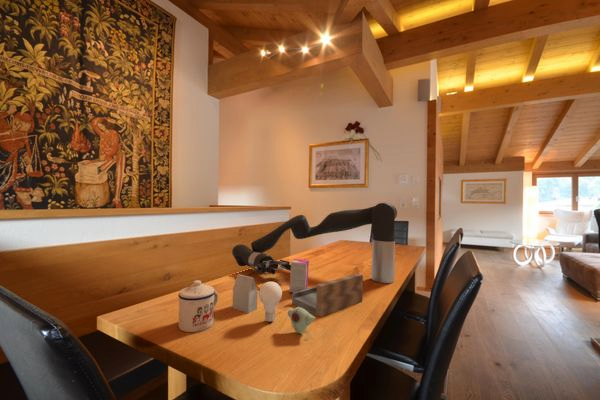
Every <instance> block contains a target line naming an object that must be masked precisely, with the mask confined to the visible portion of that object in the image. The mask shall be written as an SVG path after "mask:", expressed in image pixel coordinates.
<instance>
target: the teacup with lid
mask: <svg viewBox="0 0 600 400" xmlns="http://www.w3.org/2000/svg"><path fill="white" fill-rule="evenodd" d="M177 297H178V298H179V299H178V301H179V302H178V305H179V306H178V328H179V330H181V331H182V332H186V333H196V332H197V333H198V332H202V331H204V330H208V329H209V328H211V326H213V324H214V318H215V317H214V315H215V314H214V311H215V309H214V308H216V306H217V304H218V302H219V294H218V291H216V290H215V288H214V287H213V286H211V285H206V284H204V283H202V281H201V280H199V279H197V280H194V281H193V283H192V284H191V285H189V286H187V287H184V288H182V289H180V290H179V292H178V295H177Z"/></svg>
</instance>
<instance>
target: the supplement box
mask: <svg viewBox="0 0 600 400" xmlns="http://www.w3.org/2000/svg"><path fill="white" fill-rule="evenodd" d="M309 263H310V260H309V259H302V258H300V259H299V258H293V259H292V261H291V262H290V265H291V271H290V276H289V277H290V278H289V279H290V280H289V294H290V295H291V294H292V293H294V292H297V291H301V290H304V289H308V287H309V286H308V283H309Z"/></svg>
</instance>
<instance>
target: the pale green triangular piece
mask: <svg viewBox="0 0 600 400" xmlns="http://www.w3.org/2000/svg"><path fill="white" fill-rule="evenodd" d="M287 316H288V317H289V318H290V321H291V326H292V328H293V330H294V331H295V332H296V333H298V334H303V333H304V332H305V331H306V330H307V328H308V326H310V325H311V324H312V323H313V322H314V320H315V319H316V317H317V316H316V317H315V316H314V314H312V313H310V312H308V311H306V310H305V309H303V308H301V307H298V306H297V307H295V308H292V309H291V308H290V309H288V310H287Z"/></svg>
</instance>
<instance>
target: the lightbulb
mask: <svg viewBox="0 0 600 400" xmlns="http://www.w3.org/2000/svg"><path fill="white" fill-rule="evenodd" d="M282 296H283V291H282V288H281V286H280V284H278V282H275V281H266V282H264V283H263V284H262V285H261V287H260V289H259V291H258V297H259V300H260V302H261V303H262V305H263V309H264V314H265V315H264V321H265V322H267V323H272V322H274V321H275V318H276V317H275V316H276V315H275V314H276V309H277V306H278V304H279V303H280V301H281V299H282Z"/></svg>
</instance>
